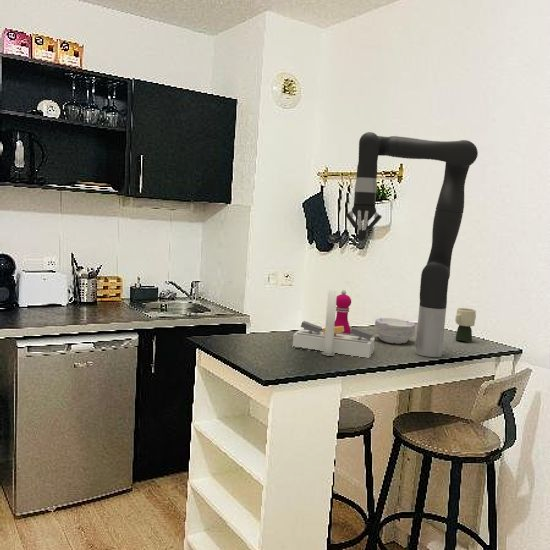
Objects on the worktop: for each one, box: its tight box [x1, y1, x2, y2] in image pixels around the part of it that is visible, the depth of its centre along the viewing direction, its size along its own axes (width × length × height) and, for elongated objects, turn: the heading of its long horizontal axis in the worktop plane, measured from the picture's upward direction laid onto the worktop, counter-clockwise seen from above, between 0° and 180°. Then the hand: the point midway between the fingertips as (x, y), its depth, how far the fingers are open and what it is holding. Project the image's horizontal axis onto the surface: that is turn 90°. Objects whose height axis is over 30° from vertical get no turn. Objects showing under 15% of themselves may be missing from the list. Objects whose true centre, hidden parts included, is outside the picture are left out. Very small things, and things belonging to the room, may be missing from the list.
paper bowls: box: [374, 317, 416, 345], centre depth 217 cm, size 15×15×8 cm
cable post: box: [321, 290, 338, 357], centre depth 189 cm, size 4×4×22 cm
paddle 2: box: [350, 326, 373, 340], centre depth 194 cm, size 7×3×2 cm, turn 72°
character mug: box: [455, 307, 477, 342], centre depth 224 cm, size 11×7×13 cm, turn 119°
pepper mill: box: [334, 289, 352, 334], centre depth 208 cm, size 7×7×20 cm
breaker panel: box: [292, 328, 376, 359], centre depth 198 cm, size 27×11×6 cm, turn 72°
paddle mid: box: [322, 326, 344, 334], centre depth 197 cm, size 7×3×2 cm, turn 71°
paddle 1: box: [300, 320, 323, 333], centre depth 200 cm, size 7×3×2 cm, turn 72°
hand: (361, 240), depth 198 cm, fingers closed
